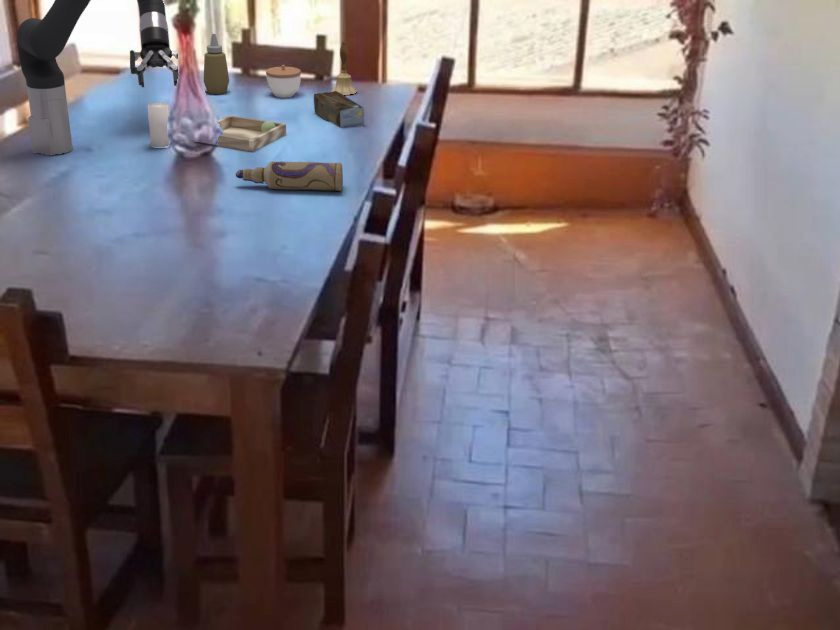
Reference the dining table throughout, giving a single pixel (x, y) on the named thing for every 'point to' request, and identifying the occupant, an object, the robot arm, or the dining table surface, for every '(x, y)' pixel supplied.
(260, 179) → the decorative bottle
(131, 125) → the dining table surface
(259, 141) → the tray
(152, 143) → the white dome-topped cylinder
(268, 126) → the green ball
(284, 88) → the lidded jar
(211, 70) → the squeeze bottle
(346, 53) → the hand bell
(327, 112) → the beverage carton
